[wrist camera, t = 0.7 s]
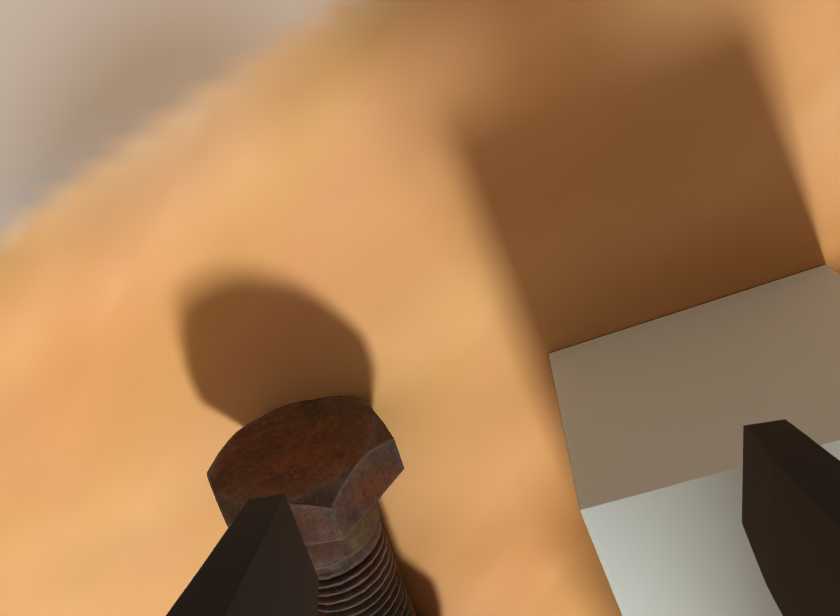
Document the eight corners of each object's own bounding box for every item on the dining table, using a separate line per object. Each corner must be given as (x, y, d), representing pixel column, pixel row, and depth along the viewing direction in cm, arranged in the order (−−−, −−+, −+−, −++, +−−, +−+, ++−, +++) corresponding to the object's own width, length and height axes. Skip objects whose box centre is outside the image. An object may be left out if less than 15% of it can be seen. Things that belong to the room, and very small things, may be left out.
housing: (894, 596, 25) (1039, 810, 18) (661, 647, 26) (721, 860, 20) (826, 264, 20) (991, 399, 14) (548, 353, 22) (579, 510, 15)
